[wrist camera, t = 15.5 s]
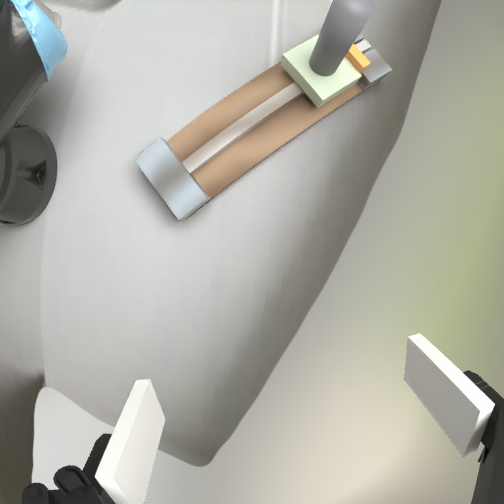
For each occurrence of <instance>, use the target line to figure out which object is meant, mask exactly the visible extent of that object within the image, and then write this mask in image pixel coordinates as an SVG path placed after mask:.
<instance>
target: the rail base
mask: <svg viewBox="0 0 504 504" xmlns="http://www.w3.org/2000/svg"><path fill="white" fill-rule="evenodd" d="M363 38H364V37H363V35H362V34H361V33H360V34H359V35H358V37H357V38H356V40H355V42H354V43H353V44H354V45H356V44H358V43H359V42H361V41H362V39H363ZM363 55H364V56H365V57H366V58H367V59H368V61H369V62H370V63H371V64H370V65H369V66H368V67H367V68H366V69H365V71H364V72H363V73H362V74H361V75H362V76H361V78H360V79H359V80H358V81H357V82H356V83H355V85H353V86H351V87H350V88H348V89H347V90H345V91H343V92H342V93H340V94H339V95H337V96H336V97H334V98H333V99H331V100H329V101H328V102H326V103H325V104H323V105H322V106H320V107H319V108H317V107H316V105H315V104H314V103H313V102H312V100H311V99H310V98H309V97H308V96H307V94H306V93H305V92H304V91H303V90H302V89H301V87H300V86H299V85H298V84H297V83H296V82H295V80H294V79H293V78H292V77H291V76H290V75H289V74H288V72H287V71H286V70H285V69H284V68H283V67H282V66H281V62H280V63H278V64H277V65H275V66H273V67H272V68H270V69H268V70H267V71H265V72H264V73H262V74H261V75H259V76H257V77H256V78H254V79H253V80H251V81H250V82H248V83H247V84H245V85H244V86H242V87H241V88H239V89H238V90H236V91H235V92H233V93H232V94H230V95H229V96H228V97H226V98H225V99H223V100H222V101H220V102H219V103H218V104H216V105H215V106H213V107H212V108H211V109H209V110H208V111H207V112H205V113H204V114H202V115H201V116H200V117H198V118H197V119H196V120H194V121H193V122H192V123H191V124H189V125H188V126H187V127H185V128H184V129H183V130H181V131H180V132H179V133H178V134H176V135H175V136H174V137H173V138H171V139H170V140H169V141H168V142H167V141H165V140H164V139H162V138H161V137H160V138H159V139H157V140H156V141H155V142H154V143H153V144H151V145H150V146H149V147H148V148H147V149H145V150H144V151H143V152H142V153H141V154H140V155H138V156H137V157H136V158H135V159H134V160H135V162H136V163H137V164H138V166H139V167H140V169H141V170H142V171H143V173H144V174H145V175H146V177H147V178H148V180H149V181H150V182H151V184H152V185H153V186H154V188H155V189H156V190H157V192H158V193H159V194H160V196H161V197H162V198H163V200H164V201H165V203H166V204H167V205H168V207H169V208H170V209H171V211H172V212H173V213H174V215H175V216H176V217H177V219H178V220H183V219H187V218H189V217H190V216H191V215H192V214H194V213H195V212H196V211H197V210H199V209H200V208H201V207H202V206H204V205H205V204H206V203H207V202H209V201H210V200H211V199H213V198H214V197H215V196H216V195H218V194H219V193H220V192H222V191H223V190H224V189H226V188H227V187H228V186H230V185H231V184H232V183H233V182H235V181H236V180H237V179H239V178H240V177H241V176H243V175H244V174H245V173H247V172H248V171H249V170H251V169H252V168H253V167H255V166H256V165H258V164H259V163H260V162H262V161H263V160H264V159H266V158H267V157H268V156H270V155H271V154H273V153H274V152H275V151H277V150H278V149H280V148H281V147H282V146H284V145H285V144H287V143H288V142H289V141H291V140H292V139H294V138H295V137H297V136H298V135H299V134H301V133H302V132H304V131H305V130H307V129H308V128H309V127H311V126H312V125H314V124H315V123H317V122H318V121H320V120H321V119H323V118H324V117H326V116H327V115H329V114H330V113H332V112H333V111H335V110H336V109H338V108H339V107H341V106H342V105H344V104H345V103H347V102H348V101H350V100H351V99H353V98H354V97H356V96H357V95H359V94H361V93H362V92H364V91H365V90H367V89H368V88H370V87H372V86H373V85H375V84H376V83H378V82H379V81H381V80H382V79H383V78H384V77H385V76H386V75H387V74H388V73H389V72H390V71H391V70H392V69H391V68H390V67H389V65H388V64H387V63H386V62H385V61H384V59H383V58H382V57H381V56H380V55H379V53H378V52H377V51H376V50H375V49H373V50H371V51H369V52H367V53H366V54H363Z"/></svg>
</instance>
